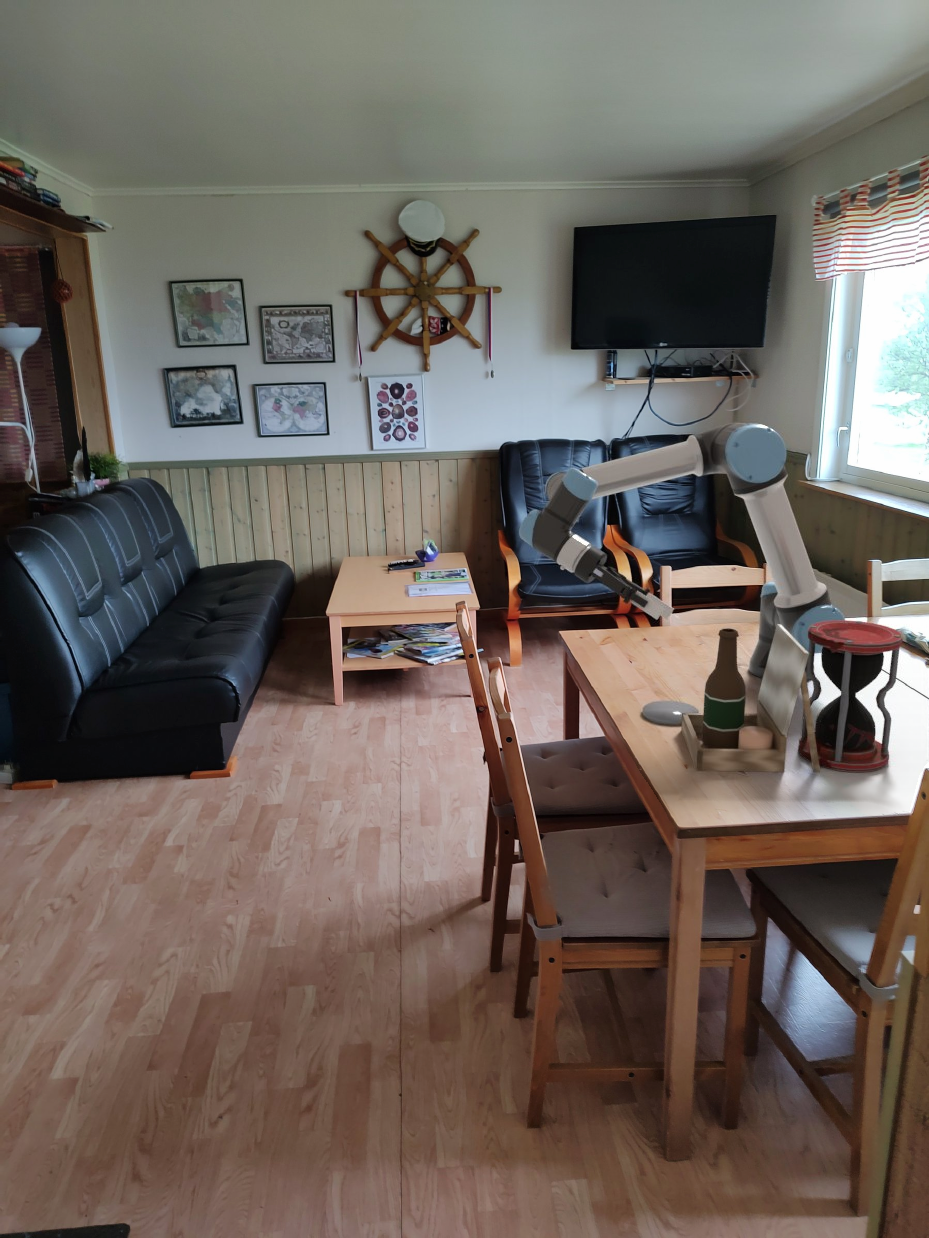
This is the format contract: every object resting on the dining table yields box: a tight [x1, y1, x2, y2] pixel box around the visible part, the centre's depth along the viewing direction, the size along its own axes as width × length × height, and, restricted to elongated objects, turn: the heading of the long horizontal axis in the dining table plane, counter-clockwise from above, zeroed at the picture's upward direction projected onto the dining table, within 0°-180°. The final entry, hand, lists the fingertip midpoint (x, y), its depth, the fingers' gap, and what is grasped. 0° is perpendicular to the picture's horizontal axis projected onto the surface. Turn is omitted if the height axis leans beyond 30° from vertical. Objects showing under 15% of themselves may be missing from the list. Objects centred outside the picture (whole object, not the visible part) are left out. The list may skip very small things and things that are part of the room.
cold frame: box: [680, 624, 821, 773], centre depth 165 cm, size 23×19×24 cm
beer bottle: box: [702, 628, 747, 749], centre depth 168 cm, size 8×8×24 cm
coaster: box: [642, 700, 700, 726], centre depth 187 cm, size 12×12×1 cm
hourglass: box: [797, 619, 903, 773], centre depth 162 cm, size 16×16×25 cm
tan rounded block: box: [738, 726, 773, 749], centre depth 163 cm, size 6×6×6 cm
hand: (666, 614), depth 178 cm, fingers open, 13 cm apart
